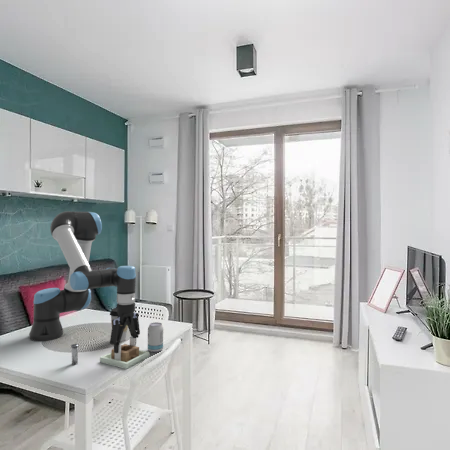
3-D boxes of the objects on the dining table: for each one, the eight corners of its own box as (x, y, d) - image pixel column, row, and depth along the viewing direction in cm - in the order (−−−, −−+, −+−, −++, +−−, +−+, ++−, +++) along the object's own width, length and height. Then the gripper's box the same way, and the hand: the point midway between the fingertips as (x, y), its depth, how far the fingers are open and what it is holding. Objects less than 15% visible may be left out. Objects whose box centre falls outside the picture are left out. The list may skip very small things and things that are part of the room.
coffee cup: (123, 344, 163) (124, 312, 163) (105, 342, 165) (106, 311, 165) (132, 337, 172) (133, 307, 172) (115, 336, 174) (116, 306, 174)
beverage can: (148, 347, 158) (148, 322, 158) (163, 347, 159) (164, 321, 159) (146, 353, 152) (146, 326, 152) (162, 353, 152) (162, 326, 152)
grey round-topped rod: (69, 364, 139) (69, 345, 139) (75, 361, 142) (75, 343, 142) (74, 365, 138) (74, 346, 138) (79, 363, 140) (80, 344, 140)
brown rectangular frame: (111, 359, 143) (111, 349, 143) (124, 353, 150) (124, 343, 150) (129, 363, 139) (129, 354, 139) (141, 357, 146) (142, 347, 146)
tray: (100, 362, 142) (100, 357, 142) (124, 350, 154) (124, 346, 154) (126, 368, 135) (126, 363, 135) (149, 356, 148) (149, 352, 148)
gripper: (114, 309, 134) (113, 367, 134) (149, 298, 153) (148, 349, 153) (100, 307, 137) (99, 363, 137) (135, 297, 156) (135, 346, 156)
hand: (125, 356), depth 145 cm, fingers open, 8 cm apart
